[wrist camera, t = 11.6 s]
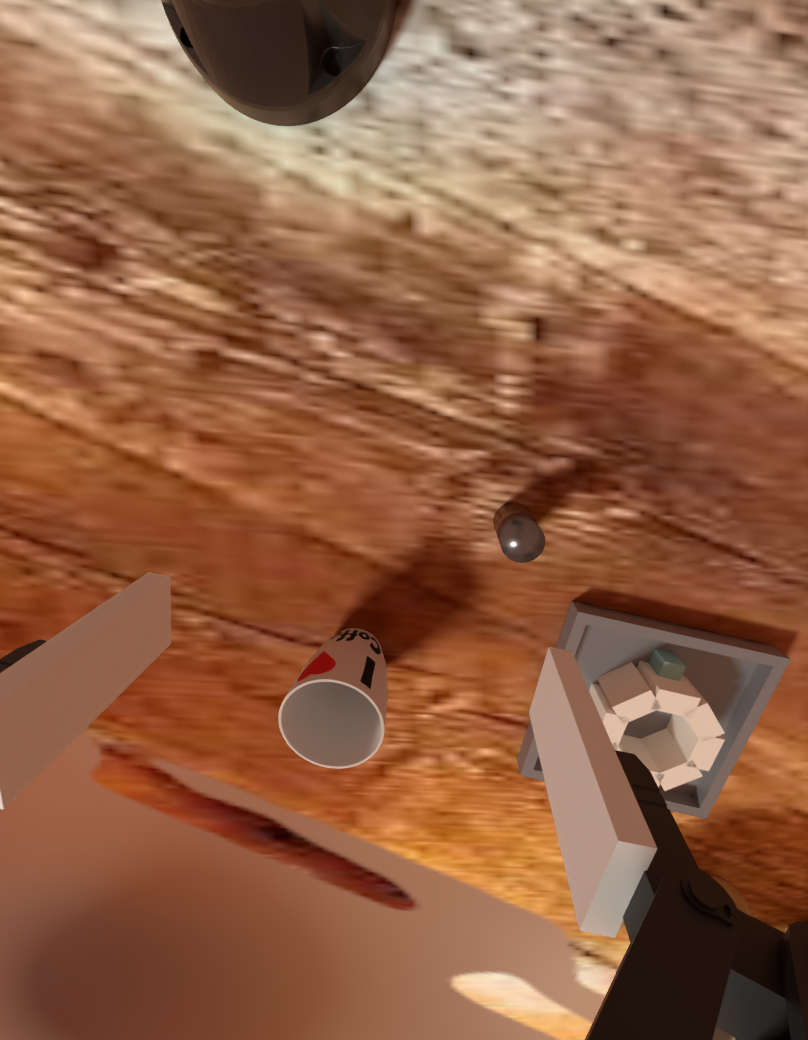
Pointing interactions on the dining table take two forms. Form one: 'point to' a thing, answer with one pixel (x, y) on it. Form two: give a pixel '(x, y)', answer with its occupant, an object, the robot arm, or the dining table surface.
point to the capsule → (518, 533)
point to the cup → (338, 702)
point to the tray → (709, 667)
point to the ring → (667, 690)
